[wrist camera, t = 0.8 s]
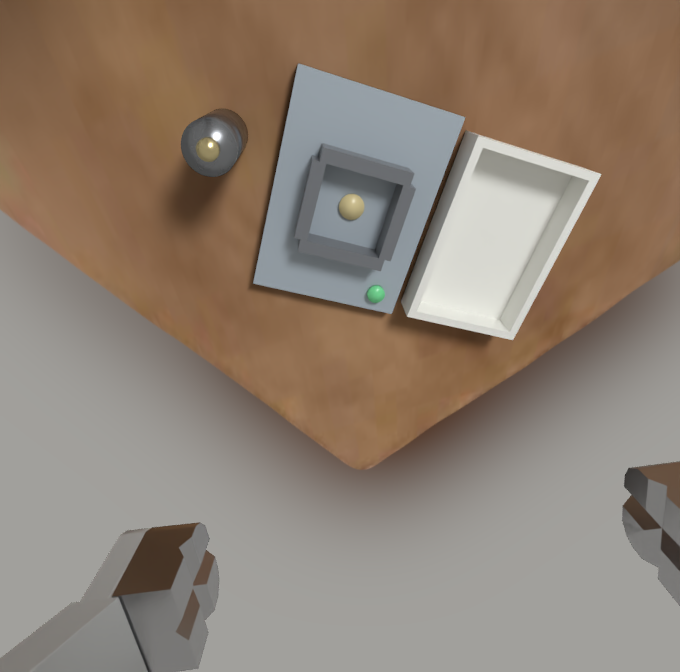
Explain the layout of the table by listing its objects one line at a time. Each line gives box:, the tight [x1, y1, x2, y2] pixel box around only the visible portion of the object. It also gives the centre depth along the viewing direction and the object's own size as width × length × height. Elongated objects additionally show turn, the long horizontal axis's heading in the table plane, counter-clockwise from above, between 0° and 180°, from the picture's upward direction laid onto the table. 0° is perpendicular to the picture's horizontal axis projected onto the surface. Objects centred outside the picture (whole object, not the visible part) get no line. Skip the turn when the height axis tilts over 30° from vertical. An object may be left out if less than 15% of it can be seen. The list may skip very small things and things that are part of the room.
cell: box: [181, 109, 248, 177], centre depth 37 cm, size 4×4×9 cm
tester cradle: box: [253, 64, 465, 314], centre depth 43 cm, size 20×15×4 cm
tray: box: [401, 131, 601, 340], centre depth 46 cm, size 18×12×4 cm
